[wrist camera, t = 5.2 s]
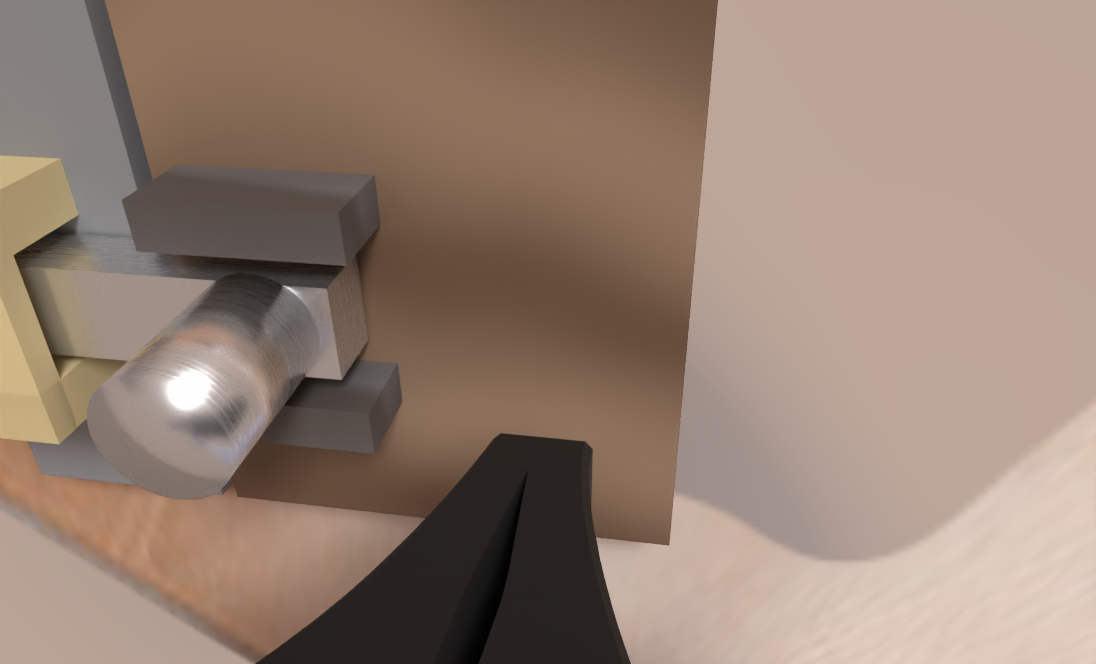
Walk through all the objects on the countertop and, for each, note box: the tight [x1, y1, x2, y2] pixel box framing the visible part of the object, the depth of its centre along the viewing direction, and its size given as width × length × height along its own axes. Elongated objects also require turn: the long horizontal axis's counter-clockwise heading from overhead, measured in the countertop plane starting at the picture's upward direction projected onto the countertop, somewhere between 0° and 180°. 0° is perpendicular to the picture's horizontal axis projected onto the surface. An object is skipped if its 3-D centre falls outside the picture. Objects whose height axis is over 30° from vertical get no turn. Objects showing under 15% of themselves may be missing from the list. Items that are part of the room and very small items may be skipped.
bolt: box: [14, 233, 368, 500], centre depth 16 cm, size 2×9×5 cm, turn 90°
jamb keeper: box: [0, 0, 233, 495], centre depth 18 cm, size 12×5×4 cm, turn 0°
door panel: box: [105, 0, 718, 545], centre depth 17 cm, size 12×11×3 cm
